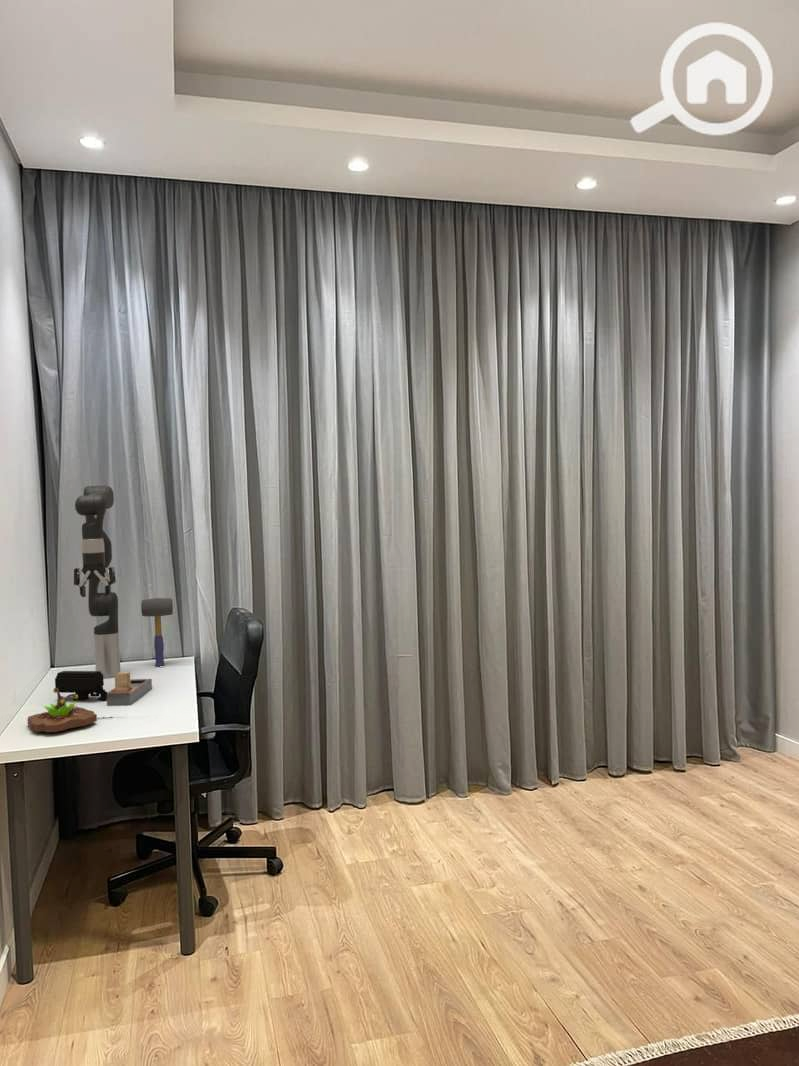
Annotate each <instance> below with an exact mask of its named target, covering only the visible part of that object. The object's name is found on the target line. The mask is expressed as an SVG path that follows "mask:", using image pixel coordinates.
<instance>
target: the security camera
mask: <svg viewBox="0 0 799 1066" xmlns="http://www.w3.org/2000/svg"><path fill="white" fill-rule="evenodd" d="M104 679H105V678H103V675H102V673H101V671H96V670H95V671H94V670H62V671H59V672H57V674H56V675H55V678H54V686H55V687H54V688H58V690H59V692H60V694H61V693H63V694H67V693H68V694H77V695H78V698H77V699H75V698H74V697H73V701H85V702H86V701H89V699H90V697H98V698H97V699H96V701H97V702H105V701H107V693H108V691H106V689H104V687H103V686H104V685H105V683H104V682H105V681H104Z"/></svg>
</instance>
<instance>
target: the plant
mask: <svg viewBox="0 0 799 1066" xmlns="http://www.w3.org/2000/svg"><path fill="white" fill-rule="evenodd" d="M52 692H53V693H55V694H56V697H57V700H56V704H53V703H49V704H50V706H48V705H43V706H42V707H43V708H44V709H45V710H46V711H44V712H41V713H36V714H32V715H29V716H27V725H28V726H29V727H28V728H30V730H31V731H35V732H36V733H39V732H45V733H57V732H61V731H65V730H69V729H74V728H79V727H84V726H88V725H90V724H93V723H95V722H97V721H98V715H97V713H95V711H94V710H89V709H86V708H83V707H79V706H76V704H77V701H74V702H71V703H70V704H69V705H68V703H67V700H68V699H69V698H70V697H73V699H74V698H75V699H77V698H78V695H77V694H75V693H69V694H68V695H66V696H65V698H64V696H63V695H61V693H60V692H59V690H58V688H55V687H54V688H53V690H52Z"/></svg>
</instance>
